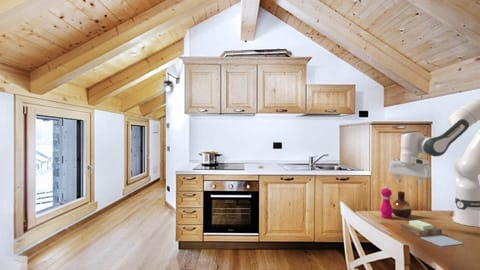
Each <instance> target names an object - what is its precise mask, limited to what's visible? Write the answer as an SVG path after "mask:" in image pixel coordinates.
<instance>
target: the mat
mask: <svg viewBox="0 0 480 270" xmlns="http://www.w3.org/2000/svg"><path fill="white" fill-rule="evenodd" d="M419 238H420V239H422V240H425V241H427V242H429V243H431V242H432V244H434V245H436V246H438V247H450V246H458V245H464V244H465V243H464V242H462V241H459V240H456V239H454V238H451V237H448V236H446V235H443V234H442V235H434V236H425V237H419Z"/></svg>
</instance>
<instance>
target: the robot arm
mask: <svg viewBox="0 0 480 270" xmlns="http://www.w3.org/2000/svg"><path fill="white" fill-rule="evenodd" d="M447 120H448V121H447V122H448V124H449V127H448V128H447V129H446V130H445V131H444V132H442V133H441V134H440V135H437V136H434V137H428V136H425V135H423V134H421V133H419V132H418V131H416V130H411V131H406V132H403V133H402V134H401V137H400V152H399V153H400V156H399V157H400V158H391V159H389V163H388V164H389V168H388V173H389V174H390V175H395V178H396V179H397V183H399V184H401V183H402V178H400V176H406V177H413V178H418V179H419V181H416V182H415V183H416V186H421V182H422V181H423V179H429V178H430V177H431V167H430V165H429V160H428V159H426V158H423V157H419V155H420V154H423V155H428V156H431V157H440V156H441V157H442V156H443V155H444V154H445V153H446V152H447V150H448V149H449V147H450V146H451V144H452V143H454V142H455V141H456V140H457V139H458V138H460V137H461V136H462V135H463V134H464V133H465V132H466V131H467V130H468V129H469V128H471V127H472V126H473V125H474V124H476V123H478V121H480V99H473V100H470V101H469V102H466V103H464V104H462V105H461V106H460V107H459V108H457V109H456V110H455V111H453V112H452V113H451V114H450V115H449V116H448V119H447ZM453 171H454V172H453V173H454V180H455V181H454V182H455V199H454V204H455V205H454V208H453V209H454V210H453V216H451V218H452V221H453V222H454V223H456V224H459V225H463V226H469V227H477V228H480V180H479V175H480V128H479V129H478V130H477V132H476V133H475V135H474V136H473V137H472V139H471V140H470V142H469V143H468V145H467V147H466V149H465V151H464V153H463V155H462V156H459V157H457V158H456V159H455V160H454V162H453Z"/></svg>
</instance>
